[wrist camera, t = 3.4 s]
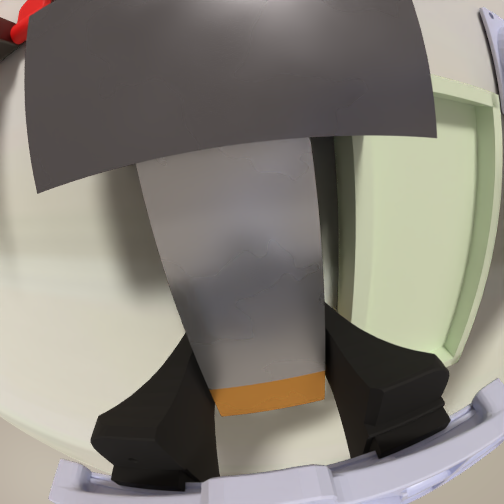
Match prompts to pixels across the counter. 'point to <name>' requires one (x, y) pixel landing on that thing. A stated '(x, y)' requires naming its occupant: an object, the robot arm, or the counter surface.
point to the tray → (421, 223)
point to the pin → (244, 268)
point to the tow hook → (18, 27)
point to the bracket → (215, 78)
